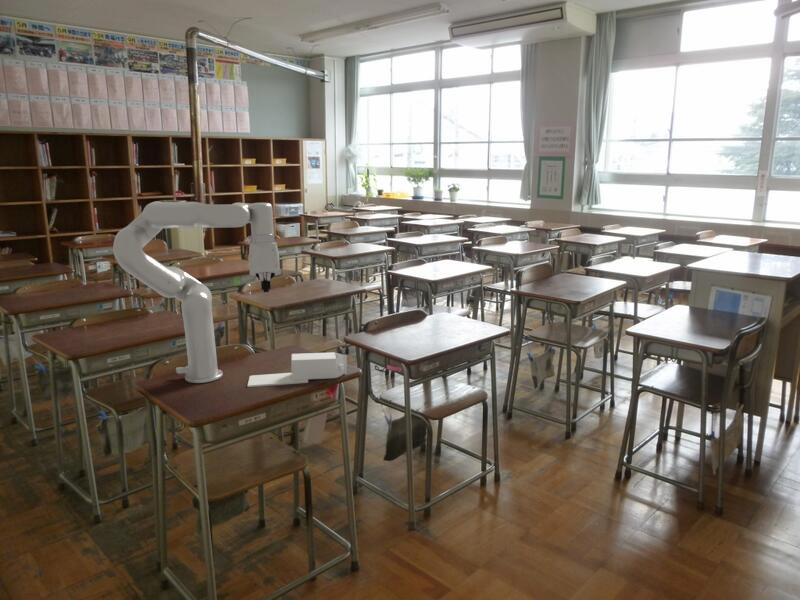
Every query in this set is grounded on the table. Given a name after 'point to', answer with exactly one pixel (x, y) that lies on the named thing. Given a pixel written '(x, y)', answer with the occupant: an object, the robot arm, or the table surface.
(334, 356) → the milk carton
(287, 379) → the mat
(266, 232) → the robot arm
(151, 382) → the table surface
